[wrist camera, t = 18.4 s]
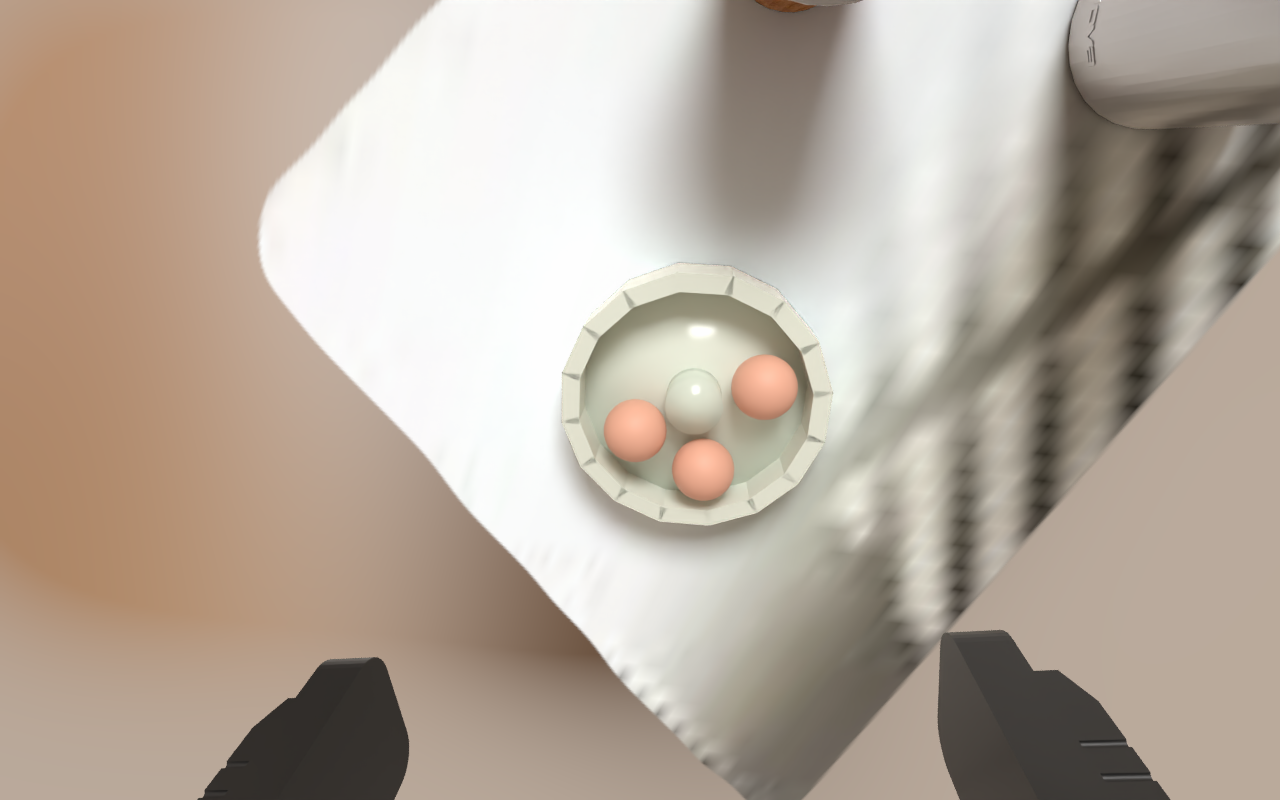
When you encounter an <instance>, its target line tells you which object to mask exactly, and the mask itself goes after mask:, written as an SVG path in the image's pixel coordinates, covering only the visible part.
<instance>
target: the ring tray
mask: <svg viewBox="0 0 1280 800" xmlns="http://www.w3.org/2000/svg"><path fill="white" fill-rule="evenodd" d="M763 354H767V355H773V356H776V357H779V358H781V359H782V360H784V361H785V362H787V363H788V364H789V365H790V367H791V368H792V369H793V371H794V373H795V375H796V378H797V382H798V392H797V397H796V399H795V401H794V403H793V405H792V406H791V408H790V409H789V410H788V411H787V412H786V413H784V414H783V415H781V416H779V417H777V418H774V419H770V420H759V419H755V418H752V417H750V416H748V415H746V414H745V413H743V412H742V411H741V410H740V409H739V408H738V406H737V405H736V403H735V401H734V399H733V396H732V391H731V383H732V379H733V375H734V373H735V371H736V370H737V368H738V367H739V366H740V365H741V364H742V363H743V362H744V361H745V360H747V359H749V358H751V357H753V356H757V355H763ZM832 396H833V391H832V387H831V384H830V380H829V376H828V373H827V369H826V365H825V362H824V358H823V355H822V351H821V347H820V344H819V341H818V340H817V338H816V337H815V335H814V334H813V332H812V331H811V329H810V327H808V325H807V324H806V323H805V322H804V321H803V319H802V318H801V317H800V316H799V315H798V313H797V312H796V311H795V310H794V309H793V307H792V306H791V305H790V304H789V303H788V301H787V300H786V299H785V298H784V297H783V295H782V294H781V293H780V292H779V291H778V289H776V288H774V287H772V286H770V285H768V284H766V283H764V282H762V281H760V280H758V279H756V278H754V277H752V276H750V275H748V274H746V273H744V272H742V271H740V270H738V269H736V268H734V267H732V266H722V265H706V264H690V263H676V264H673V265H670V266H667V267H664V268H661V269H659V270H656V271H653V272H650V273H647V274H644V275H641V276H638V277H635V278H632V279H630V280H628V281H627V282H626V283H625V284H624V285H623V286H621V287H620V288H619V289H618V290H617V291H616V292H615V293H614V294H613V295H611V296H610V297H609V298H608V299H607V300H606V301H605V302H604V303H603V304H601V305H600V306H599V307H598V308H597V309H596V310H595V311H594V312H593V313H591V315H590V317H589V318H588V320H587V321H586V323H585V324H584V326H583V328H582V330H581V333H580V335H579V337H578V339H577V341H576V344H575V346H574V348H573V350H572V352H571V355H570V357H569V359H568V361H567V363H566V366H565V368H564V370H563V372H562V424H563V427H564V429H565V431H566V434H567V436H568V439H569V441H570V443H571V446H572V448H573V450H574V453H575V455H576V458H577V460H578V462H579V465H580V467H581V468H582V469H583V470H584V471H585V472H586V473H587V474H588V475H589V476H590V477H591V478H592V479H593V480H594V481H595V482H596V483H597V484H598V485H599V486H600V487H601V488H602V489H603V490H604V491H605V492H606V493H607V494H608V495H609V496H610V497H611V498H612V499H613V500H614V501H615V502H618V503H620V504H622V505H624V506H626V507H628V508H631V509H633V510H635V511H637V512H639V513H642V514H644V515H646V516H648V517H650V518H653V519H655V520H657V521H659V522H670V523H682V524H694V525H706V526H710V525H714V524H718V523H721V522H725V521H729V520H733V519H736V518H740V517H744V516H748V515H752V514H755V513H758V512H759V511H761V510H762V509H764V508H765V507H766V506H768V505H769V504H771V503H772V502H773V501H775V500H776V499H778V498H779V497H781V496H782V495H783V494H785V493H786V492H788V491H789V490H790V489H792V488H793V487H795V486H796V485H798V483H799V482H800V480H801V479H802V477H803V476H804V474H805V473H806V471H807V469H808V468H809V466H810V465H811V463H812V462H813V460H814V459H815V457H816V455H817V454H818V452H819V451H820V449H821V448H822V446H823V445H824V443H825V439H826V433H827V427H828V420H829V414H830V408H831V402H832ZM630 399H639V400H644V401H647V402H649V403H651V404H653V405H654V406H655V407H657V409H658V410H659V411H660V412H661V414H662V415H663V417H664V419H665V422H666V429H667V432H666V439H665V442H664V444H663V446H662V448H661V449H660V451H659V452H658V453H657V454H656V455H654V456H653V457H652V458H650V459H648V460H645V461H641V462H629V461H625V460H623V459H621V458H619V457H617V456H616V455H615V454H614V453H613V452H612V451H611V450H610V449H609V447H608V446H607V444H606V441H605V437H604V424H605V420H606V418H607V416H608V414H609V412H610V411H611V410H612V409H613V408H614V407H615V406H616V405H618V404H619V403H621V402H623V401H626V400H630ZM702 438H704V439H711V440H714V441H716V442H718V443H720V444H721V445H723V446H724V447H725V448H726V449H727V450H728V452H729V453H730V455H731V457H732V459H733V463H734V477H733V480H732V483H731V485H730V486H729V488H728V489H727V490H726V492H724V493H723V494H722V495H721V496H719V497H717V498H715V499H712V500H708V501H699V500H695V499H692V498H690V497H688V496H686V495H685V494H683V493H682V492H681V491H680V490H679V488H678V487H677V485H676V484H675V482H674V479H673V474H672V464H673V460H674V457H675V455H676V453H677V452H678V450H679V449H680V448H681V447H682V446H683V445H684V444H686V443H688V442H689V441H692V440H695V439H702Z"/></svg>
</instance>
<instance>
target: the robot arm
mask: <svg viewBox="0 0 1280 800" xmlns="http://www.w3.org/2000/svg"><path fill="white" fill-rule="evenodd" d="M1069 63H1070V68H1071V71H1072V75H1073V78H1074V82H1075V85H1076V87H1077V88H1078V90H1079V92H1080V94H1081V95H1082V97H1083V99H1084V101H1085V102H1086V103H1087V104H1088V105H1089V106H1090V107H1091V108H1092V109H1093V110H1094V111H1095V112H1096V113H1097V114H1099V115H1100V116H1102V117H1104V118H1106V119H1107V120H1109V121H1111V122H1112V123H1114V124H1118V125H1122V126H1125V127H1129V128H1132V129H1170V128H1191V127H1220V126H1240V125H1260V124H1280V0H1079V1H1078V4H1077V7H1076V10H1075V13H1074V16H1073V19H1072V23H1071V30H1070V36H1069ZM938 730H939V737H940V743H941V747H942V752H943V756H944V760H945V763H946V766H947V769H948V772H949V774H950V777H951V779H952V782H953V784H954V787H955V789H956V791H957V794H958V796H959V799H960V800H1170V799H1169V797H1168V796H1167V795H1166V793H1165V792H1164V790H1163V789H1162V788H1161V786H1160V785H1159V784H1158V782H1157V781H1153V780H1152V778H1151V775H1150V771H1149V770H1148V768H1147V767H1146V766H1145V764H1144V763H1143V762H1142V760H1141V759H1140V757H1139V756H1138V755H1137V753H1136V752H1135V751H1134V749H1133V748H1132V747H1128V745H1127V743H1126V738H1125V737H1124V736H1123V734H1122V733H1121V732H1120V730H1119V729H1118V727H1117V726H1116V725H1115V723H1114V722H1113V721H1112V719H1111V718H1110V716H1109V715H1108V714H1107V713H1106V711H1105V710H1104V708H1103V707H1102V706H1101V704H1100V703H1099V701H1097V700H1096V699H1095V698H1094V697H1092V696H1091V695H1090V694H1088V693H1087V692H1086V691H1084V690H1083V689H1082V688H1080V687H1079V686H1078V685H1076V684H1075V683H1074V682H1073V681H1071V680H1070V679H1069V678H1067V677H1066V676H1065V675H1063V674H1062V673H1061V672H1059V671H1058V670H1050V671H1049V670H1048V671H1033V670H1032V668H1031V667H1030V665H1029V664H1028V662H1027V660H1026V659H1025V657H1024V656H1023V654H1022V653H1021V651H1020V650H1019V648H1018V647H1017V645H1016V643H1015V642H1014V640H1013V639H1012V638H1011V636H1010V635H1009V634H1008V633H1007V632H1005V631H1003V630H993V631H973V632H950V633H944V634H943V636H942V638H941V645H940V670H939V697H938ZM408 757H409V739H408V734H407V730H406V727H405V724H404V721H403V718H402V715H401V711H400V709H399V706H398V702H397V699H396V696H395V693H394V690H393V686H392V683H391V680H390V677H389V674H388V671H387V668H386V665H385V664H384V662H383V661H382V660H381V659H379V658H375V657H373V658H352V659H330V660H327V661H325V662H323V663H322V664H321V665H320V666H319V667H318V668H317V669H316V671H315V672H314V674H313V675H312V676H311V677H310V679H309V680H308V681H307V683H306V684H305V686H304V687H303V688H302V690H301V691H300V692H299V694H298V695H297V697H296V698H288V699H287V700H285V701H284V702H283V703H282V704H281V705H279V706H278V707H277V708H276V709H275V710H273V711H272V712H271V713H270V714H268V715H267V716H266V717H265V718H264V719H262V720H261V721H260V722H259V723H258V724H256V725H255V726H254V727H253V728H252V729H251V731H250V732H249V733H248V735H247V736H246V737H245V738H244V740H243V741H242V742H241V744H240V745H239V746H238V748H237V749H236V750H235V751H234V753H233V754H232V755H231V757H230V758H229V759H228V761H227V766H226V768H223V769H221V770H220V771H219V772H218V774H217V775H216V776H215V777H214V779H213V780H212V781H211V783H210V784H209V785H208V787H207V788H206V789H205V794H204V797H203V798H198V800H394V799H395V797H396V795H397V792H398V790H399V788H400V786H401V784H402V781H403V779H404V776H405V773H406V769H407V764H408Z"/></svg>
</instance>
